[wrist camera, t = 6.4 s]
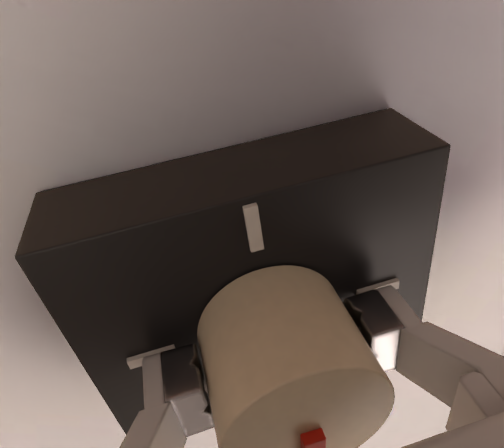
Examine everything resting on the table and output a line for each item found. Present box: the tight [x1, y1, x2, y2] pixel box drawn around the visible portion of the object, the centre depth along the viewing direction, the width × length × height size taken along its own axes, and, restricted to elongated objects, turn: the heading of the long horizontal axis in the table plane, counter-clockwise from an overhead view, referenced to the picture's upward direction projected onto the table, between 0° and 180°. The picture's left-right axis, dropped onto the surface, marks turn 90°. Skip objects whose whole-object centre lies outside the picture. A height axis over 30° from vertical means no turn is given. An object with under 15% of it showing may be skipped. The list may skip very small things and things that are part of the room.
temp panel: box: [15, 108, 450, 435], centre depth 14 cm, size 11×9×3 cm
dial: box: [197, 265, 395, 448], centre depth 11 cm, size 4×4×4 cm
